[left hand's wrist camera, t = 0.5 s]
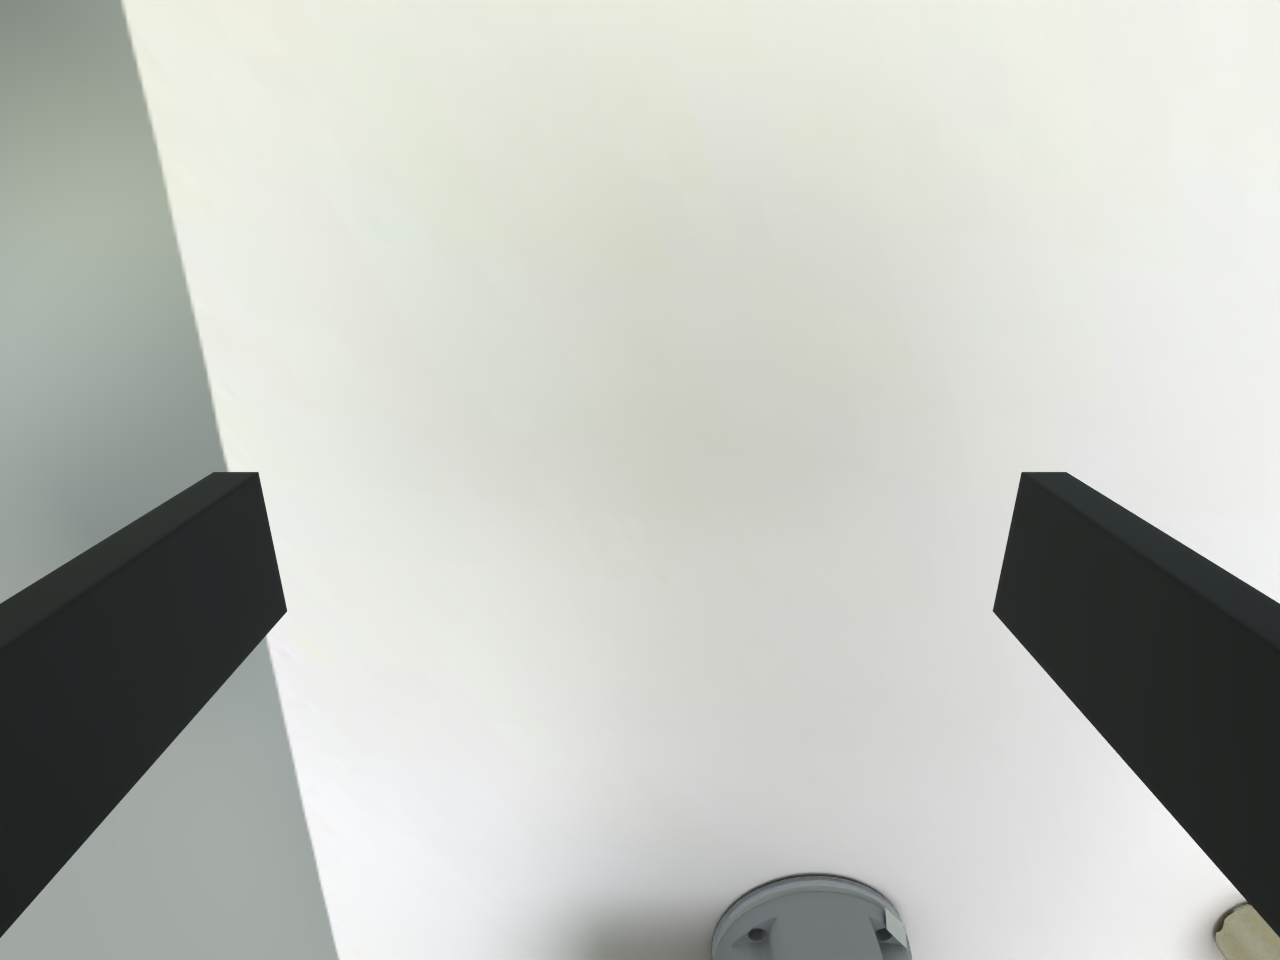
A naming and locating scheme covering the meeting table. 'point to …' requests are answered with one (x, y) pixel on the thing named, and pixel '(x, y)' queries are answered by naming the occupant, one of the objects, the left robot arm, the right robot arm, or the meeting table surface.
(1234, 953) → the flower pot
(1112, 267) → the meeting table surface
